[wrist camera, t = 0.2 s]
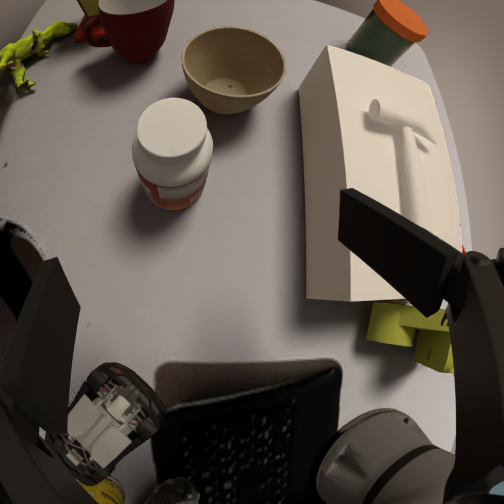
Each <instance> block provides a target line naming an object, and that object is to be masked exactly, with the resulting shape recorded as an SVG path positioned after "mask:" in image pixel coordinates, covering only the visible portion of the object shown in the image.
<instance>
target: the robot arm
mask: <svg viewBox="0 0 504 504" xmlns="http://www.w3.org/2000/svg"><path fill="white" fill-rule="evenodd" d="M338 241H339V242H341V243H342V244H343V245H344V246H345V247H347V248H348V249H349V250H350V251H351V252H353V253H354V254H355V255H356V256H357V257H358V258H360V259H361V260H362V261H363V262H364V263H366V264H367V265H368V266H369V267H370V268H371V269H373V270H374V271H375V272H376V273H377V274H378V275H379V276H381V277H382V278H383V279H384V280H385V281H386V282H387V283H389V284H390V285H391V286H392V287H393V288H394V289H395V290H396V291H397V292H399V293H400V294H401V295H402V296H403V297H404V298H405V299H406V300H407V301H409V302H410V303H411V304H412V305H413V306H414V307H415V308H416V309H417V310H418V311H419V312H420V313H422V314H423V315H424V316H425V317H426V318H428V317H430V316H431V315H433V314H435V313H437V312H438V311H439V309H440V306H441V304H442V301H443V299H444V300H446V301H447V302H448V305H447V307H446V310H445V313H444V315H443V318H442V320H441V326H443V324H444V322H445V320H446V319H447V320H448V322H447V325H446V326H449V333H450V340H451V348H452V356H453V367H454V379H455V395H456V450H455V455H454V454H452V453H450V452H447V451H445V450H443V449H441V448H439V447H437V446H435V445H433V444H432V443H431V442H430V440H429V439H428V438H427V436H426V435H425V434H424V432H423V431H422V430H421V429H420V427H419V426H418V425H417V423H416V422H415V421H414V420H413V419H412V418H411V417H409V416H408V415H407V414H405V413H402V412H400V411H398V410H396V409H391V408H382V409H376V410H373V411H370V412H367V413H365V414H363V415H361V416H359V417H357V418H355V419H354V420H352V421H351V422H350V423H348V424H347V425H346V426H344V427H343V428H342V429H341V430H340V431H339V432H338V433H337V434H335V436H334V437H333V438H332V439H331V440H330V441H329V442H328V444H327V445H326V446H325V448H324V449H323V451H322V452H321V454H320V456H319V458H318V460H317V462H316V465H315V468H314V473H313V483H314V487H315V489H316V491H317V493H318V494H319V495H320V496H321V498H322V499H323V500H324V501H325V502H326V503H328V504H504V248H500V249H499V251H498V255H497V258H496V259H492V260H490V259H489V258H488V257H487V256H485V255H484V254H482V253H479V252H475V251H469V252H466V253H465V255H464V254H463V253H462V252H460V251H459V250H457V249H456V248H454V247H453V246H451V245H450V244H448V243H447V242H445V241H444V240H442V239H440V238H439V237H437V236H436V235H433V233H431V232H430V231H428V230H426V229H425V228H422V227H420V226H419V225H417V224H415V223H414V222H412V221H410V220H409V219H407V218H405V217H404V216H402V215H400V214H399V213H397V212H395V211H393V210H392V209H390V208H388V207H387V206H385V205H383V204H381V203H380V202H378V201H376V200H374V199H372V198H371V197H369V196H367V195H365V194H363V193H361V192H360V191H358V190H356V189H354V188H349V189H343V190H340V204H339V226H338ZM80 308H81V307H80V305H79V303H78V301H77V299H76V297H75V295H74V293H73V291H72V288H71V286H70V284H69V282H68V280H67V278H66V276H65V273H64V271H63V269H62V266H61V264H60V262H59V259H58V257H55V258H52V259H48V260H45V261H43V263H42V265H41V267H40V269H39V271H38V273H37V276H36V278H35V280H34V282H33V284H32V286H31V289H30V291H29V293H28V296H27V298H26V301H25V303H24V306H23V308H22V311H21V313H20V316H19V318H18V321H17V324H16V327H15V329H14V330H13V331H11V332H10V333H9V335H8V336H7V338H6V339H5V341H4V343H3V346H2V349H1V354H0V504H99V503H98V502H97V501H96V500H95V499H94V498H93V497H92V496H91V495H90V494H89V493H88V492H87V491H86V490H85V489H84V488H83V487H82V486H81V484H80V483H79V482H78V481H77V480H76V479H75V478H74V477H73V476H72V474H71V473H70V472H69V471H68V470H67V468H66V467H65V466H64V465H63V464H62V462H61V461H60V460H59V459H58V457H57V456H56V455H55V454H54V452H53V451H52V450H51V448H50V447H49V446H48V444H47V443H46V442H45V440H44V439H43V438H41V437H40V436H39V426H40V427H41V428H42V429H43V430H45V431H46V432H47V433H48V434H49V435H55V434H68V404H69V390H70V378H71V368H72V359H73V351H74V344H75V337H76V331H77V325H78V319H79V313H80Z"/></svg>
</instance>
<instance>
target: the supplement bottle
mask: <svg viewBox="0 0 504 504" xmlns="http://www.w3.org/2000/svg"><path fill="white" fill-rule="evenodd" d="M79 483H80V484H81V486H82V487H83V488H84V489H85V490H86V491H87V492H88V493H89V494H90V495H91V496H92V497H93V498H94V499H95V500H96V501H97V502H98V503H99V504H124V500H125V492H124V490H123V488H122V486H121V485H120V484H119V483H118V482H117V481H116V480H115V479H113V478H112V477H110V476H108V477H106V478H105V479H104V480H103V481H102V482H100V483H98V484H97V485H94V486H86V485H84V484H83V483H81V482H79Z"/></svg>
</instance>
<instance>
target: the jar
mask: <svg viewBox="0 0 504 504" xmlns="http://www.w3.org/2000/svg"><path fill="white" fill-rule="evenodd" d="M414 43H415V42H412V41H409V40H407V39H405V38H403V37H401V36H400V35H398V34H397V33H395V32H394V31H392V30H391V29H390V28H389V27H388V26H386V25H385V24H384V23H383V22H382V21H381V20H380V19H379V17H378V16H377V15H376V13H375V11H374V9H373V10H372V11H371V13H370V14H369V15H368V17H367V18H366V19H365V20H364V22H363V23H362V24H361V26H360V27H359V28H358V30H357V31H356V32H355V34H354V35H353V36H352V38H351V39H350V40H349V42H348V44H347V48H348V51H349V52H352V53H355V54H358V55H361V56H364V57H367V58H369V59H372V60H375V61H377V62H380V63H382V64H385V65H387V66H390V67H391V66H392V65H393V64H394V63H395V62H396V61H397V60H398V59H399V58H400V57H401V56H402V55H403V54H404V53H405V52H406V51H407V50H408V49H409V48H410V47H411V46H412V45H413V44H414Z"/></svg>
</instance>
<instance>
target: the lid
mask: <svg viewBox="0 0 504 504" xmlns="http://www.w3.org/2000/svg"><path fill="white" fill-rule="evenodd" d="M373 8H374V11H375V13H376V15H377V16H378V17H379V19H380V20H381V21H382V22H383V23H384V24H385V25H386V26H388V27H389V28H390V29H391V30H392V31H394V32H395V33H397V34H398V35H400V36H401V37H403V38H405V39H407V40H409V41H412V42H419V41H421V40H422V39H424V38H425V36H426V35H427V34H428V30H427V27H426V25H425V24H424V22H423V21H422V20H421V18H419V16H418V15H417V14H416V13H415V12H414V11H413V10H411V9H410V8H409V7H407V6H406V5H405V4H403V3H402V2H400V1H398V0H377V2H376V3H375V4H374V5H373Z"/></svg>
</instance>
